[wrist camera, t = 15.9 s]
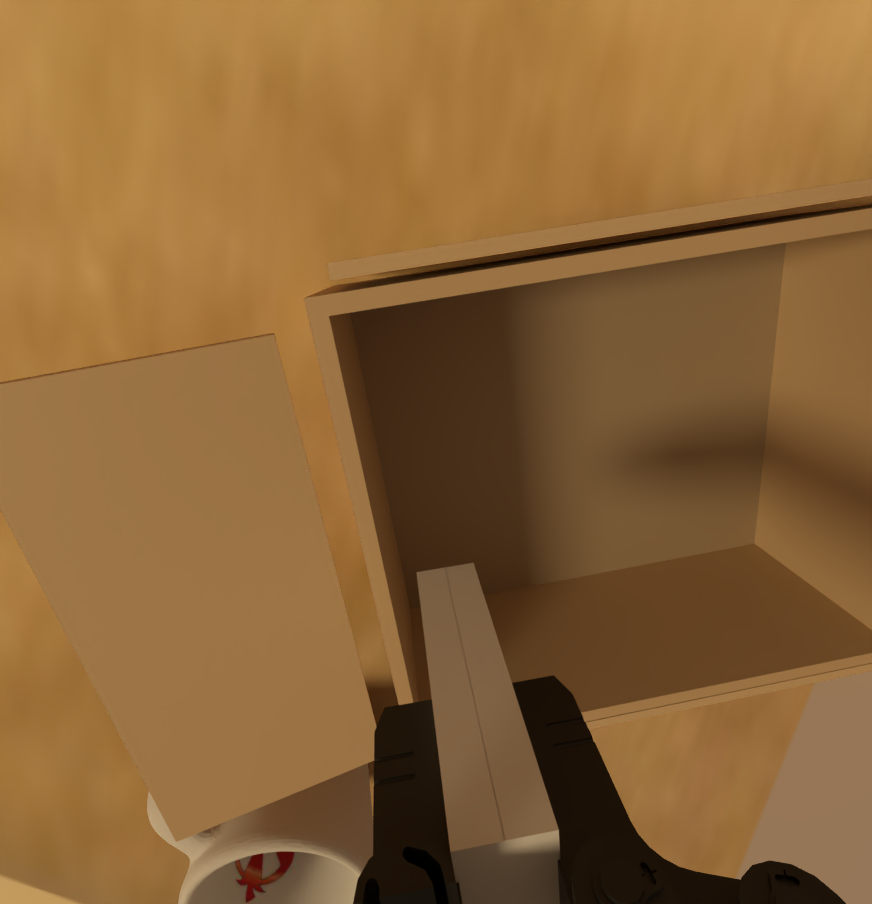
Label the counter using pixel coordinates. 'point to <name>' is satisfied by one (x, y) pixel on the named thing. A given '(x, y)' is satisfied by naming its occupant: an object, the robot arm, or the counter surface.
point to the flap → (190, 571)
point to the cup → (282, 848)
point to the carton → (622, 448)
